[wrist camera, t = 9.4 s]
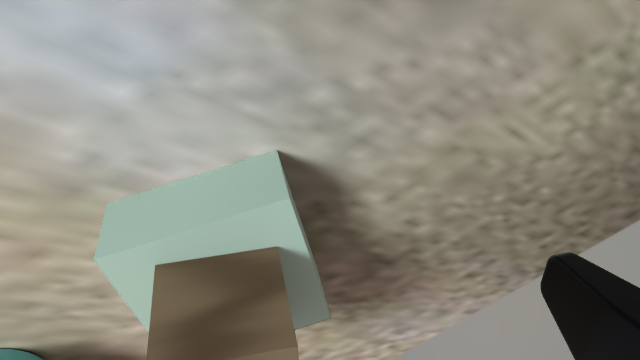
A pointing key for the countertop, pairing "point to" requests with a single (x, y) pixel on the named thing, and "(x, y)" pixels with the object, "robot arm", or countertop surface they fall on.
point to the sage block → (210, 233)
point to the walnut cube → (222, 309)
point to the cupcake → (17, 355)
